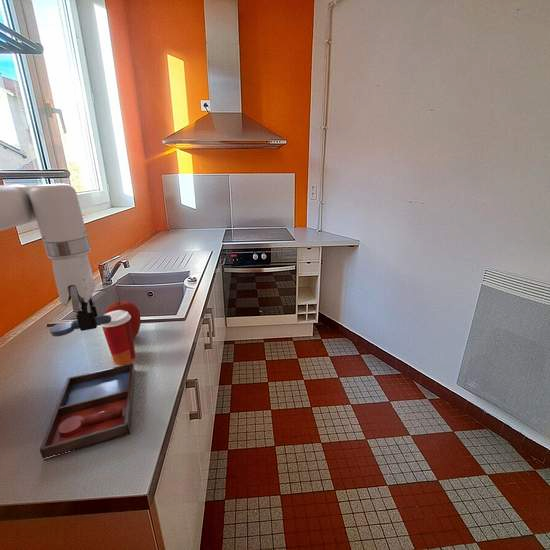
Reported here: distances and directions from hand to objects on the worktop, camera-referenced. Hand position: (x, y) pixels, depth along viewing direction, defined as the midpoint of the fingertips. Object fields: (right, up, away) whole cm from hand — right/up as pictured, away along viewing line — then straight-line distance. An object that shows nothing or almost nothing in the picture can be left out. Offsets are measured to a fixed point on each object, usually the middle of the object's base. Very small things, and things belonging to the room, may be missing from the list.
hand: (90, 325), depth 68 cm
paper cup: (-1, -13, +19) cm, 23 cm away
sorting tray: (+1, -19, +1) cm, 19 cm away
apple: (-6, -9, +29) cm, 31 cm away
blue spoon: (-1, 0, 0) cm, 1 cm away
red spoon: (+3, -20, -4) cm, 21 cm away
